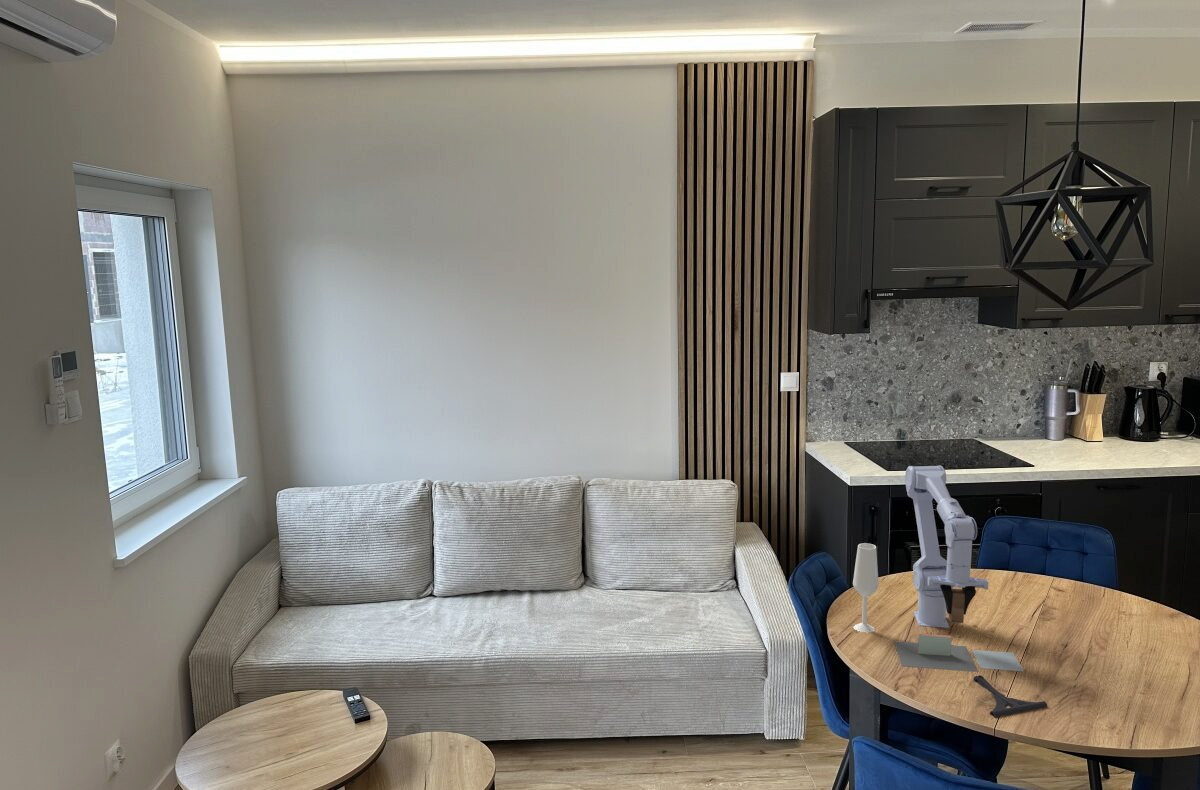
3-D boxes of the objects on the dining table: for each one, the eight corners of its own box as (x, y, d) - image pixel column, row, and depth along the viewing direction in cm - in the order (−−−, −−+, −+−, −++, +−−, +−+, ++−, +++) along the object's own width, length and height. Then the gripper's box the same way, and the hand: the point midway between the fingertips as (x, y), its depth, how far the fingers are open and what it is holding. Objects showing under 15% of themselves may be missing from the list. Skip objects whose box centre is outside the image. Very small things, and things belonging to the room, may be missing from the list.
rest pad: (971, 651, 223) (971, 649, 223) (1012, 654, 221) (1013, 652, 221) (980, 669, 214) (980, 668, 214) (1023, 672, 212) (1024, 671, 212)
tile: (917, 651, 223) (918, 633, 222) (949, 654, 221) (950, 635, 220) (917, 653, 221) (918, 635, 221) (950, 656, 220) (951, 637, 219)
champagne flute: (872, 624, 240) (876, 542, 236) (879, 634, 234) (883, 550, 230) (848, 624, 240) (851, 542, 236) (854, 634, 234) (857, 550, 230)
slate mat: (894, 642, 229) (894, 641, 229) (965, 647, 225) (965, 646, 225) (901, 667, 215) (901, 665, 215) (978, 673, 212) (978, 671, 212)
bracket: (1000, 679, 210) (1000, 668, 210) (1047, 709, 196) (1047, 698, 196) (950, 689, 206) (950, 678, 206) (994, 720, 192) (995, 709, 192)
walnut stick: (948, 617, 227) (950, 588, 225) (960, 618, 226) (962, 589, 225) (951, 622, 224) (952, 593, 222) (963, 622, 223) (965, 593, 222)
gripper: (932, 567, 220) (929, 617, 222) (992, 570, 217) (989, 620, 220) (927, 557, 227) (924, 606, 229) (985, 560, 224) (982, 609, 226)
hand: (955, 612), depth 225 cm, fingers closed on walnut stick, 3 cm apart
